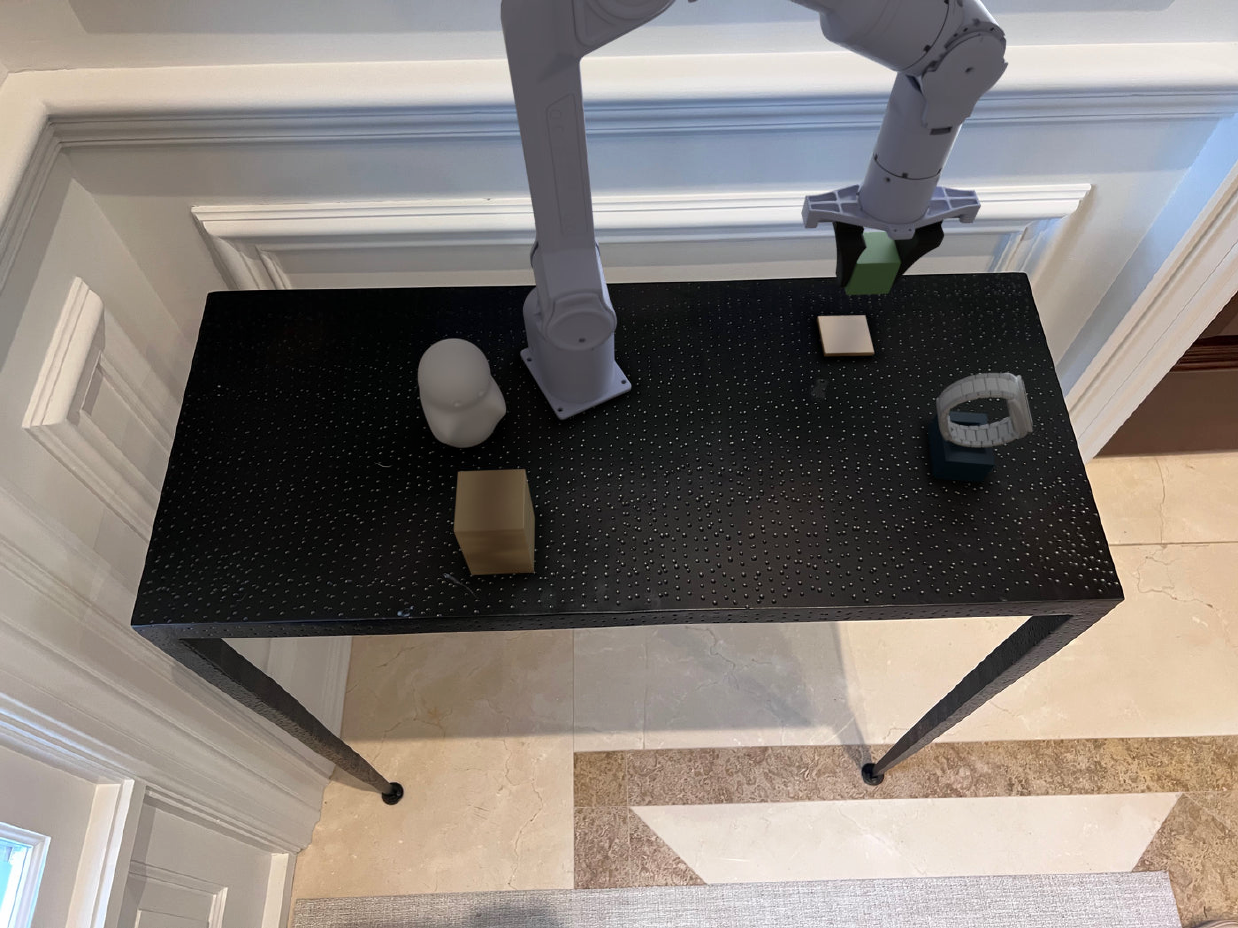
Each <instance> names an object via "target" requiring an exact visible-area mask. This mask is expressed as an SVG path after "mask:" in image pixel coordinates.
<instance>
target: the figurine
mask: <svg viewBox="0 0 1238 928" xmlns="http://www.w3.org/2000/svg"><path fill="white" fill-rule="evenodd" d="M417 383H418V387H419V388H418V389H419V398H420V403H421V407H422V410H423V413H424V417H425V419H426V421H427V424H428V426H429V428H430V431H431V432H432V434H433V436H434V437H435V439H437V440H438V441H439V442H441V443H443V444H446V445H447V446H450V447H455V448H460V449H465V448H470V447H471V448H472V447H475V446H477V445H480V444H481V443H483V442H485V441H486V440H487V439H488V438H490V436H491V435H492V434H493V432H494V430H495V429H496V427H497V425H498V423H499V422H500V421H501V420H502V419H503V417H504V416H505V415H506V413H507V406H506V401H505V398H504V395H503V393H502V391H501V389H500V387H499V385H498V384H497V382H496V380H495V379H494V377H493V376H492V374H491V368H490V364H489V362H488V359H487V357H486V356H485V354H484V353H483V351H482V350H481V349H480V348H479V347H478V346H476V345H475V344H474V343H472V342H470V341H468V340H466V339H462V338H447V339H441V340H440V341H437V342H435V343H433V344H432V345H431V346H430V347H428V348H427V349H426V351H425V352H424V353H423V355H422V356H421V359H420V361H419V365H418V369H417Z"/></svg>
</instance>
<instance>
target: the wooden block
mask: <svg viewBox="0 0 1238 928" xmlns="http://www.w3.org/2000/svg"><path fill="white" fill-rule="evenodd" d="M456 482H457V483H456V494H455V509H454V521H453V533H454V536H455V537H456V541H457V543H458V545H459V547H460V550H461V552H462V555H463V558H464V560H465V562H466V565H467V567H468V570H469V573H470V574H471V575H472V576H480V575H481V576H483V575H502V574H503V575H504V574H505V575H506V574H528V573H535V533H536V532H535V527H536V526H535V523H536V521H535V520H536V517H535V512H534V507H533V501H532V497H531V493H530V488H529V483H528V477H527V472H526V469H524V468H522V469H521V468H519V469H517V468H516V469H492V470H490V469H489V470H469V471H468V470H467V471H465V470H464V471H462V470H461V471H458V472H457V481H456Z"/></svg>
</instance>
